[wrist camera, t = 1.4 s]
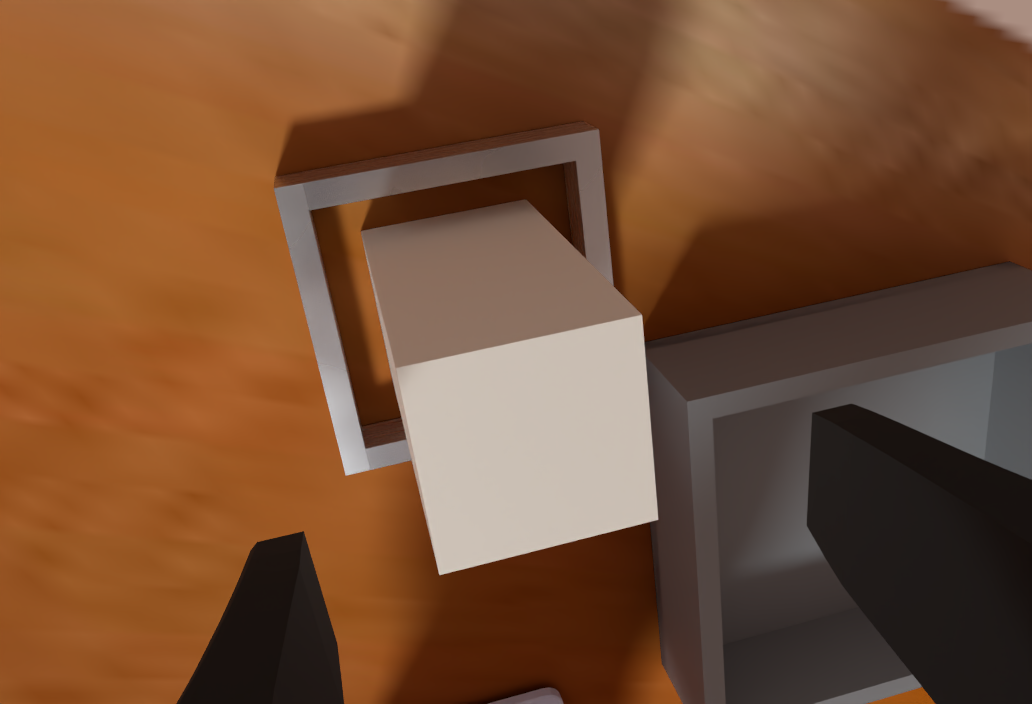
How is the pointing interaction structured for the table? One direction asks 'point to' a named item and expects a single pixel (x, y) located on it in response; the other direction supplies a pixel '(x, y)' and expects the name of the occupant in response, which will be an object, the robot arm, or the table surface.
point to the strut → (512, 383)
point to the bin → (785, 472)
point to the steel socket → (412, 173)
